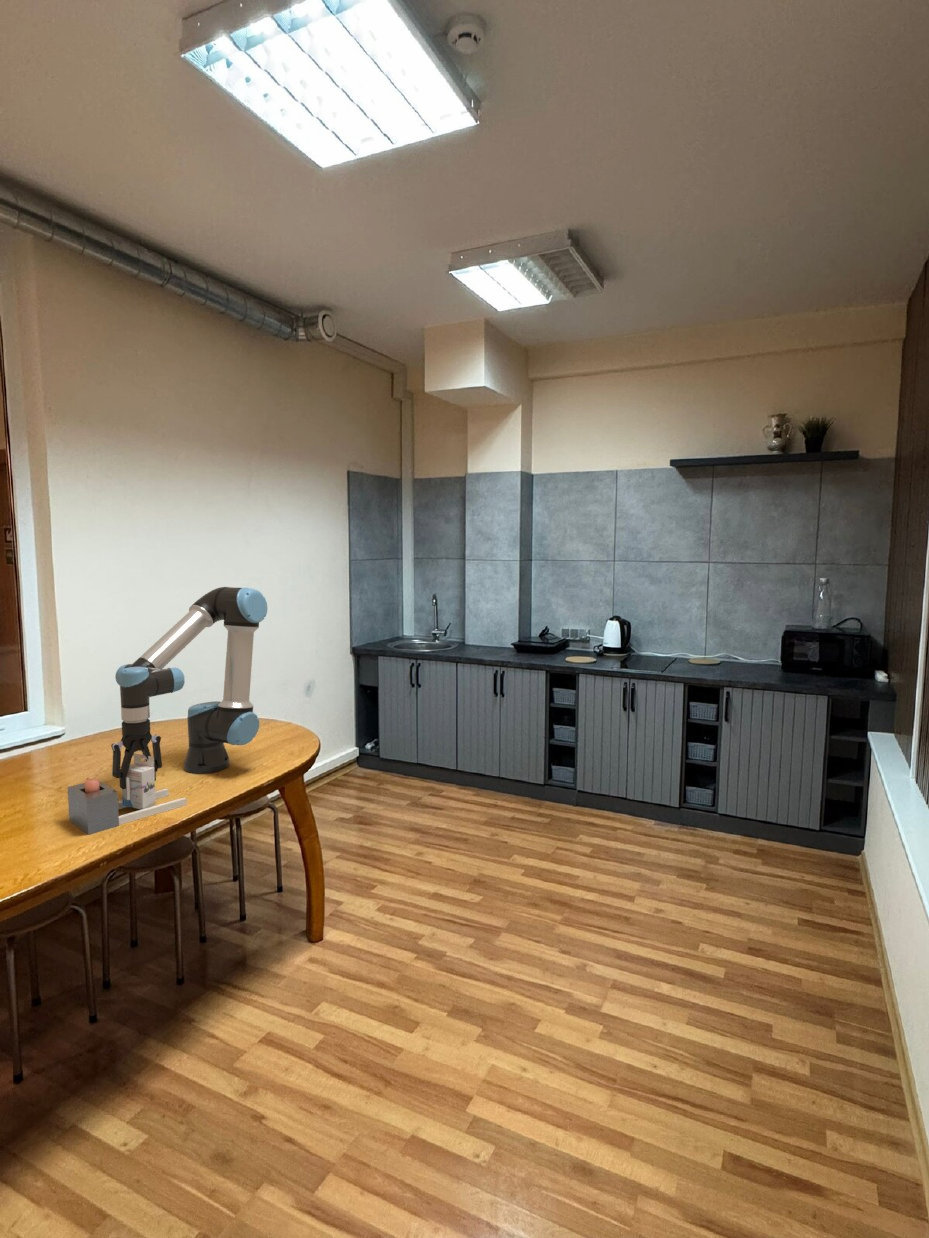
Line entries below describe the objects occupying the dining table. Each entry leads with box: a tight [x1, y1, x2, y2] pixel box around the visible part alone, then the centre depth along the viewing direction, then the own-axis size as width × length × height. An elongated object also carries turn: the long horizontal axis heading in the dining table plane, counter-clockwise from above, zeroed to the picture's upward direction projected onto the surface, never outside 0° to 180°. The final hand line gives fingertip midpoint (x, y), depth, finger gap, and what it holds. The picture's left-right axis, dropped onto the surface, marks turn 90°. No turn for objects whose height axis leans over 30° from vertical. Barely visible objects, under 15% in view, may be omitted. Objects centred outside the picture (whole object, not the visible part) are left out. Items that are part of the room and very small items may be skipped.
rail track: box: [118, 788, 188, 826], centre depth 200 cm, size 20×13×2 cm, turn 139°
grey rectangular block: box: [67, 780, 120, 836], centre depth 189 cm, size 8×14×10 cm, turn 49°
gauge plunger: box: [84, 778, 100, 794], centre depth 189 cm, size 4×4×5 cm
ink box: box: [121, 753, 156, 810], centre depth 198 cm, size 8×5×15 cm, turn 68°
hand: (138, 795), depth 199 cm, fingers closed on ink box, 6 cm apart
